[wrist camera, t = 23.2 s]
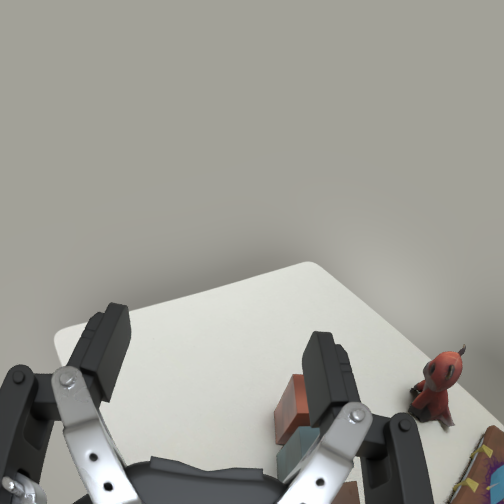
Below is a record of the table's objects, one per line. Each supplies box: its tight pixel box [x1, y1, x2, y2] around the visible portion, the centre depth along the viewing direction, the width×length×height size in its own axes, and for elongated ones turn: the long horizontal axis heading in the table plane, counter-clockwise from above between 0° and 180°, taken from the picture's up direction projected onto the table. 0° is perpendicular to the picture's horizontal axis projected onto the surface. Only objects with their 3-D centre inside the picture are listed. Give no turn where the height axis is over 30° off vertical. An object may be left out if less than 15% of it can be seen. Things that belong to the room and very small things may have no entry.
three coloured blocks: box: [274, 374, 360, 504], centre depth 24 cm, size 18×5×9 cm, turn 0°
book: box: [450, 425, 504, 504], centre depth 17 cm, size 16×25×5 cm, turn 127°
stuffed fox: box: [408, 344, 466, 427], centre depth 32 cm, size 8×11×12 cm
